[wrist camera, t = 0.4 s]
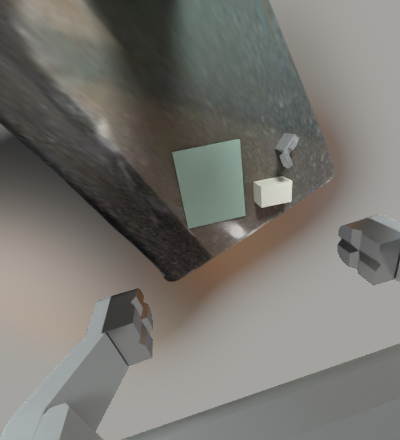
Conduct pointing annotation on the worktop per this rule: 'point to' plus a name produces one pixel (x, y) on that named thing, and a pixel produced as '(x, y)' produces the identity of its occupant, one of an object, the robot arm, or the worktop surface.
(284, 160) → the lighter
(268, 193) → the card box
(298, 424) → the robot arm
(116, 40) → the worktop surface
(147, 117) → the worktop surface
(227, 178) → the mat
